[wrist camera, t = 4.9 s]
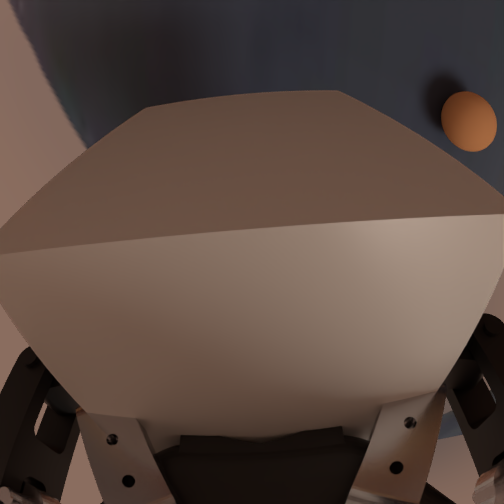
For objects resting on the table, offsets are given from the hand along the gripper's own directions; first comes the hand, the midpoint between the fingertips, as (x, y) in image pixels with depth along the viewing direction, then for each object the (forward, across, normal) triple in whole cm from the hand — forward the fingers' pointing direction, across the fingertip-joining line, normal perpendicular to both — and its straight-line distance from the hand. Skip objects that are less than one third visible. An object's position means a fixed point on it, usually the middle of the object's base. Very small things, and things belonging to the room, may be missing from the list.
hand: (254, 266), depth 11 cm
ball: (+13, -18, -2) cm, 22 cm away
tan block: (+2, 0, 0) cm, 2 cm away
